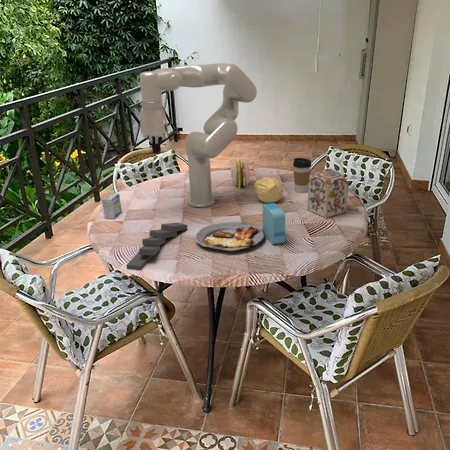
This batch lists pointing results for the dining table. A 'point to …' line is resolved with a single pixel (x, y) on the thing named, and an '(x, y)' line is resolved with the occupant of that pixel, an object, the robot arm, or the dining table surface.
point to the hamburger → (241, 173)
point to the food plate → (230, 236)
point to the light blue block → (274, 223)
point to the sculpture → (268, 189)
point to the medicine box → (111, 206)
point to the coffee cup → (301, 174)
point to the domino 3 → (138, 262)
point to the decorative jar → (327, 193)
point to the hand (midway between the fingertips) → (156, 152)
